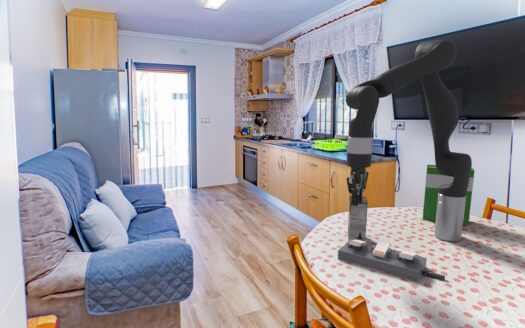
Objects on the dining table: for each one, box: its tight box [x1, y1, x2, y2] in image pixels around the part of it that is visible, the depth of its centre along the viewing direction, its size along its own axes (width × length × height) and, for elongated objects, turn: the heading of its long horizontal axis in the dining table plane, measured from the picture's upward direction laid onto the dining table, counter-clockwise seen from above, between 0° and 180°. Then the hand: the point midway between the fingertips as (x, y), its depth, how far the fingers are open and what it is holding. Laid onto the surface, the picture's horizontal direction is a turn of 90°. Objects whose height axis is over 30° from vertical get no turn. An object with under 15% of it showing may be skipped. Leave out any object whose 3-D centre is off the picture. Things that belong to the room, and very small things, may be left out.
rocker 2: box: [373, 240, 391, 258], centre depth 108 cm, size 7×4×1 cm, turn 143°
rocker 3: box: [399, 250, 417, 260], centre depth 103 cm, size 7×4×1 cm, turn 144°
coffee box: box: [347, 195, 369, 242], centre depth 126 cm, size 9×6×16 cm
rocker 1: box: [349, 239, 367, 247], centre depth 113 cm, size 7×4×1 cm, turn 144°
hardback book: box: [422, 164, 475, 226], centre depth 148 cm, size 18×7×24 cm, turn 64°
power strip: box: [337, 239, 446, 282], centre depth 107 cm, size 11×31×5 cm, turn 54°
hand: (356, 204), depth 108 cm, fingers open, 2 cm apart
